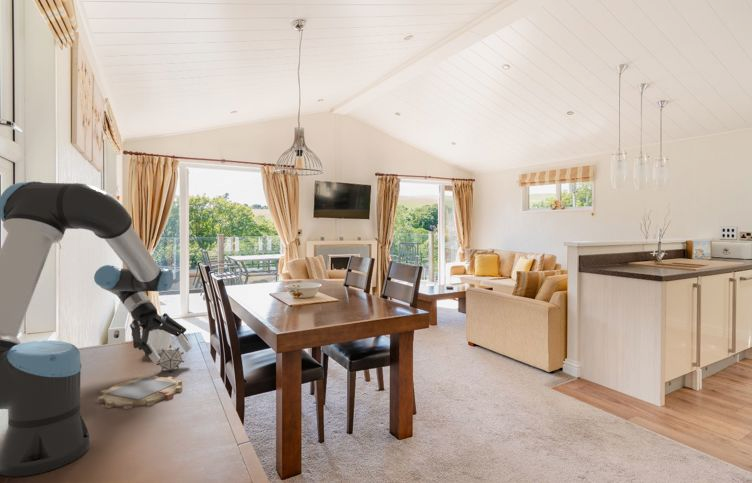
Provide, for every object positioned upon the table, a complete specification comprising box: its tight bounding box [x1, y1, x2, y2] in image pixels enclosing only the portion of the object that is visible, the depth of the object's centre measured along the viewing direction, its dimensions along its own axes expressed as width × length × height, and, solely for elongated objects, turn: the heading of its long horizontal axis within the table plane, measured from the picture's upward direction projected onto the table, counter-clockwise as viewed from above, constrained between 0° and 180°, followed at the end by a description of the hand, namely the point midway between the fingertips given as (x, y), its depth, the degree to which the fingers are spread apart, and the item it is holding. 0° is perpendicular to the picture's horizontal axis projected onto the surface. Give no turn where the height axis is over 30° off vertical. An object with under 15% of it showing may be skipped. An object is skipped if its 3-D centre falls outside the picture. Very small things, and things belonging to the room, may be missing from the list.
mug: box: [147, 323, 173, 355], centre depth 157 cm, size 9×12×11 cm
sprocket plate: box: [97, 375, 183, 410], centre depth 118 cm, size 21×21×1 cm
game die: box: [156, 345, 185, 374], centre depth 137 cm, size 9×8×10 cm
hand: (174, 355), depth 137 cm, fingers open, 13 cm apart
